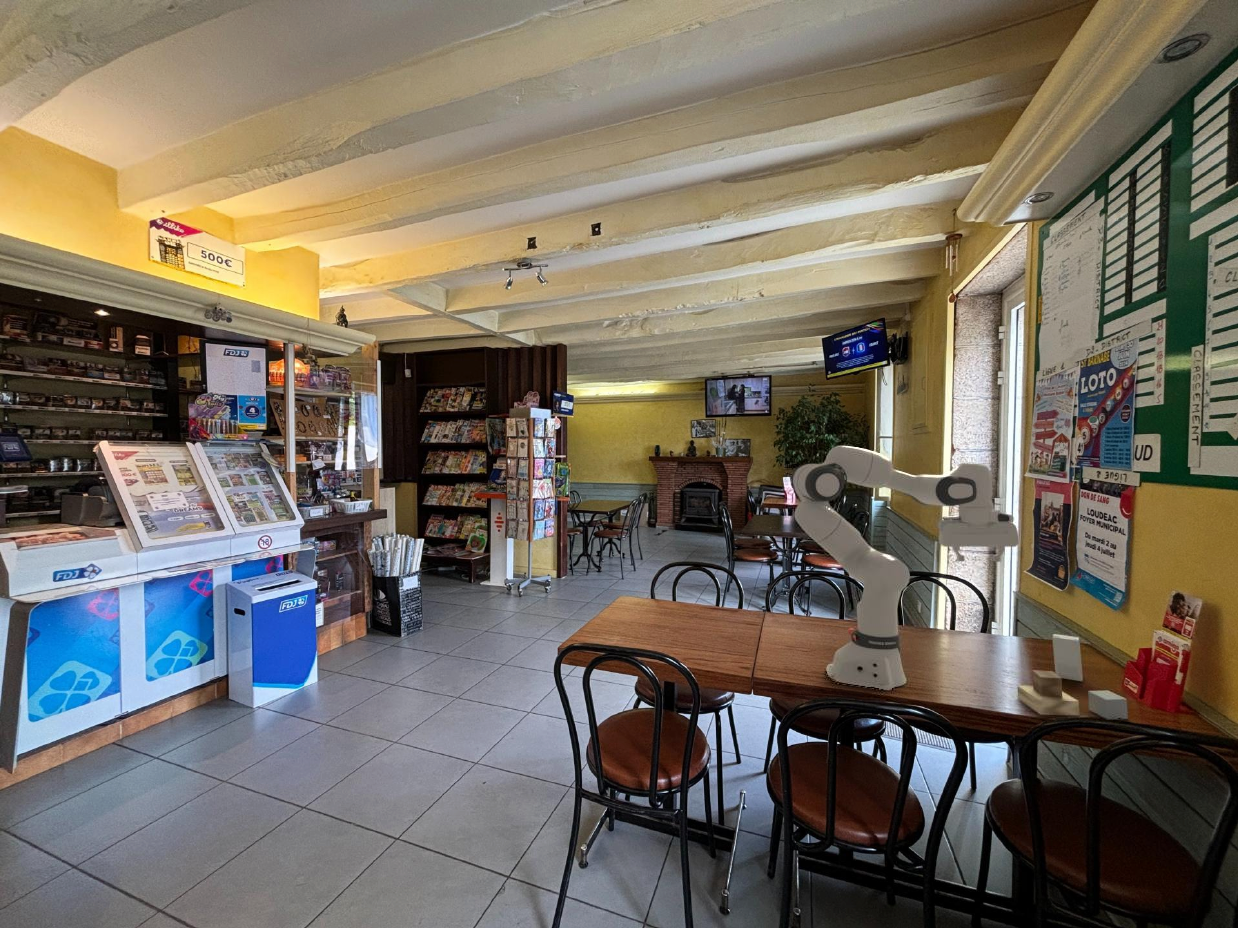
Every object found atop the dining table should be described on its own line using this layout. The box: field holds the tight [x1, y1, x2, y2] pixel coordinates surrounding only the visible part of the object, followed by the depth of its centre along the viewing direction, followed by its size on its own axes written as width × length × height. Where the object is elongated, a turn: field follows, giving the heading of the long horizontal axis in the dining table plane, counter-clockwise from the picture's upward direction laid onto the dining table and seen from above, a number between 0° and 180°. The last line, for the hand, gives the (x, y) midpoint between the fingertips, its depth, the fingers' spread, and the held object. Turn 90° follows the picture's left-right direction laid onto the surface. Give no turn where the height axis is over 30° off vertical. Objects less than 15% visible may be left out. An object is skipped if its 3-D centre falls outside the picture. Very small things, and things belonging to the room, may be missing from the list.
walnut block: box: [1032, 669, 1063, 698], centre depth 135 cm, size 4×4×5 cm
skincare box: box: [1051, 633, 1083, 682], centre depth 152 cm, size 6×4×12 cm
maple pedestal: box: [1017, 685, 1080, 716], centre depth 135 cm, size 9×9×4 cm
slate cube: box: [1087, 689, 1129, 720], centre depth 129 cm, size 5×5×5 cm
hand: (978, 561), depth 155 cm, fingers open, 8 cm apart
